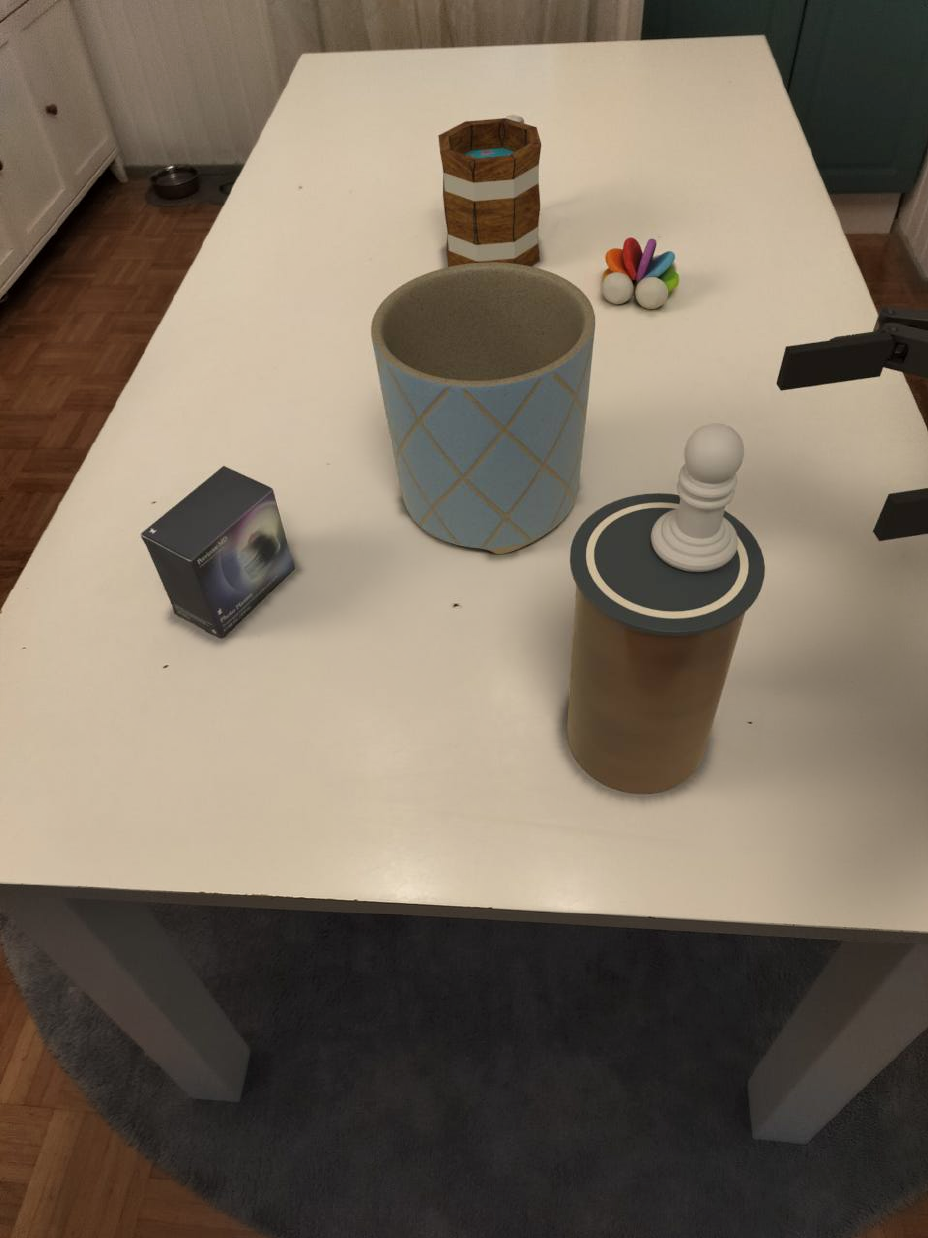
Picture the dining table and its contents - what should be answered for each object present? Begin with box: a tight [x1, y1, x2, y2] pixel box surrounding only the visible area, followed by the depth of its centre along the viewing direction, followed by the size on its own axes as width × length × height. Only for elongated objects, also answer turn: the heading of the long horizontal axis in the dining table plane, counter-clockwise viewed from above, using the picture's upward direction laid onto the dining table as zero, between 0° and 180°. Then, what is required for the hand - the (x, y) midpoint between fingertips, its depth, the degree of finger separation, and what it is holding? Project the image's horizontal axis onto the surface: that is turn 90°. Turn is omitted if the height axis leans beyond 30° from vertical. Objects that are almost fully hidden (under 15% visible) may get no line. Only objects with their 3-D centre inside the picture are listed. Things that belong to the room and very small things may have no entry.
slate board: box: [569, 492, 766, 636], centre depth 55 cm, size 12×12×1 cm
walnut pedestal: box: [566, 584, 746, 795], centre depth 63 cm, size 11×11×20 cm
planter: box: [370, 262, 596, 555], centre depth 82 cm, size 19×19×20 cm
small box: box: [140, 465, 296, 639], centre depth 79 cm, size 11×6×10 cm, turn 147°
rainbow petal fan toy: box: [601, 236, 680, 310], centre depth 110 cm, size 8×10×7 cm
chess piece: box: [651, 422, 745, 572], centre depth 52 cm, size 5×5×9 cm
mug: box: [437, 114, 542, 267], centre depth 117 cm, size 20×14×15 cm
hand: (828, 437), depth 50 cm, fingers open, 13 cm apart
